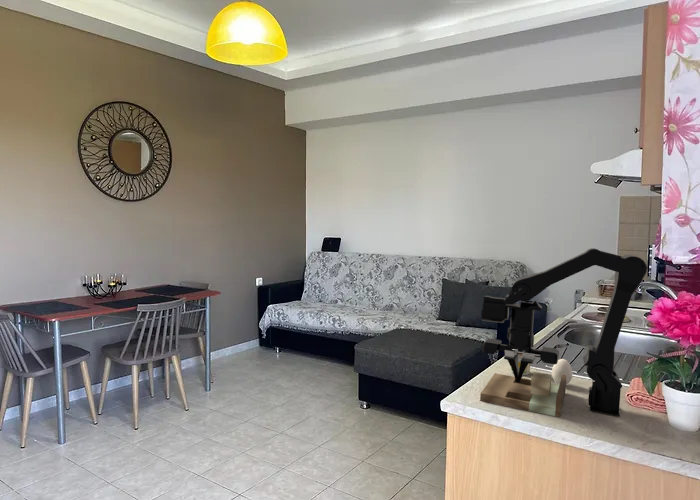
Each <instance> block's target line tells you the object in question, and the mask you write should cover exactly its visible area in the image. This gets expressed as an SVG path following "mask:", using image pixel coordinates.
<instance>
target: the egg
mask: <svg viewBox="0 0 700 500" xmlns="http://www.w3.org/2000/svg"><path fill="white" fill-rule="evenodd" d="M551 375H552V377H551V378H552V379H553V381H554V382H555V384H558V385H560V382H561V378H562V375H567V376H566V386H567V385H568V384H569V383H571V382H572V378H573V368H572V365H571V364H570V363H569V361H568V360H566V359H565V358H559V360H558V362H557V364H553V366H552V368H551Z"/></svg>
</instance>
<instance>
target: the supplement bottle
mask: <svg viewBox="0 0 700 500" xmlns="http://www.w3.org/2000/svg"><path fill="white" fill-rule="evenodd" d="M512 350H515V349H512ZM524 352H525V351H524ZM522 358H523V355H522V354H519V356H518V367H519V369H520V363H521V359H522ZM510 372H511V373H512V374H513V371H512V368H511V367H510ZM530 372H531V364H530V363H529V364H528V365H527V367H526V369H525V371H524V373H523V376H528V375H529V374H530Z"/></svg>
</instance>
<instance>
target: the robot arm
mask: <svg viewBox="0 0 700 500" xmlns="http://www.w3.org/2000/svg"><path fill="white" fill-rule="evenodd" d="M593 266H597V267H601V268H603V269H606V270H611V271H613V272H614V286H613V287H614V288H613V292H612V294H611V297H610V301H609V304H608V307H607V310H606V313H605V317H604V319H603V323H602V325H601V326H602V327H601V329H600V332H599V335H598V338H597V340H596V342H595V344H593V345H591V344H587V345H586V352H585V355H584V356H582V360H583V365H584V367H585V370H586V374H587V376H588V377H589V378H590V379H591V381H592V384H591V386H589V388H588V399H587V400H588V402H587V403H588V404H587V406H588V407H589V411H591V412H594V413H600V414H606V415H611V416H616V417H620V416H621V412H620V404H621V403H620V402H621V389H622V388H623V384H622V382H621V380H620V376H619V374H618V373H617V372H616V371H615V370H614V365H615V351H616V350H615V349H616V345H617V342H618V340H619V336H620V332H621V330H622V327H623V324H624V321H625V318H626V315H627V312H628V309H629V306H630V302H631V299H632V297H633V294H634V293H635V291H636V290H637V289H638V287H639V286H640V284H641V283H642V281H643V279H644V278H645V276H646V274H647V271H648V266H647V264H646V262H645V261H644V260H643V259H642V258H641V257H639V256H636V255H633V254H624V255H622V256H621V255H619V254H615V253H611V252H607V251H603V250H600V249H597V248H595V247H594V248H593V247H591V248H588V249H587V250H586V251H584V252H582V253H580V254H578V255H576V256H574V257H572V258H570V259H567V260H565V261H563V262H561V263H559V264H556V265H555V266H553V267H550V268H549V269H546V270H544V271H540V272H536V273H531V274H528V275H524V276H521V277H518V278H517V279H516V280H515V281H514V283H513V284H512V286H511V291H510V292H509V293H508V294H506V296H505V297H495V296H490V295H484V297H483V303H482V308H481V314H480V315H481V321H484V322H492V323H501V324H503V323H505V322H506V320H509V315H510V322H509V323H510V324H509V327H508V328H507V334H506V337H507V339H508V341H509V342H508V344H503V343H502V340H501V339H493V338H488V339H486V340H485V341H484V342H483V343H482V353H484V354H490V355H495V354H496V353H497V352H504V356H503V359H504V360H506V361H507V362H508V364H509V366H510V369H511V368H512V371H513V373H512V374H513V376H514V377H515V380H516V382H517V383H520V381H521V378H523V377H524V375H523V373H524V371H525V369H526V367H527V365H528V364H529V363H530V365H531V364H533V363H534V362H535V360H536V358H539V359H540V361H542V363H543V364H549V365H554V364H557V362H558V360H559V359H560V351H559V349H558V348H555V347H549V346H543V347H542V348H541V349H535V348H534V344H535V343H534V342H535V335H534V320H535V318H534V316H535V311H539V312H540V311H542V310H543V309H542V308H543V307H542V305H541V304H540V303H539V302H538V300H537V299H534V300H533V301H532V302H530V300H532V299H533V298H535V297H536V296H538V295H539V294H541V293H542V292H543V291H545V290H546V289H547V288H548V287H550V286H552V285H554V284H556V283H558V282H561V281H563V280H564V279H567V278H569V277H571V276H574V275H576V274H578V273H580V272H582V271H585V270H587V269H589V268H591V267H593ZM518 302H520V303H518ZM510 309H511V310H510ZM509 311H510V313H509ZM512 349H515V350H512ZM524 351H525V352H524ZM519 354H522V355H523V358H522V359H521V363H520V369H519V367H518V356H519ZM512 371H511V372H512Z"/></svg>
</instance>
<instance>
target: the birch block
mask: <svg viewBox="0 0 700 500" xmlns="http://www.w3.org/2000/svg"><path fill="white" fill-rule="evenodd" d="M530 376H531V377H530V380H531V392H530V393H531V394H536V395H541V396H547V397H549V395H550V392H551V383H552V378H553V377H552V374H549V373H544V372H538V371H533V372H532V374H531V375H530Z"/></svg>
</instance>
